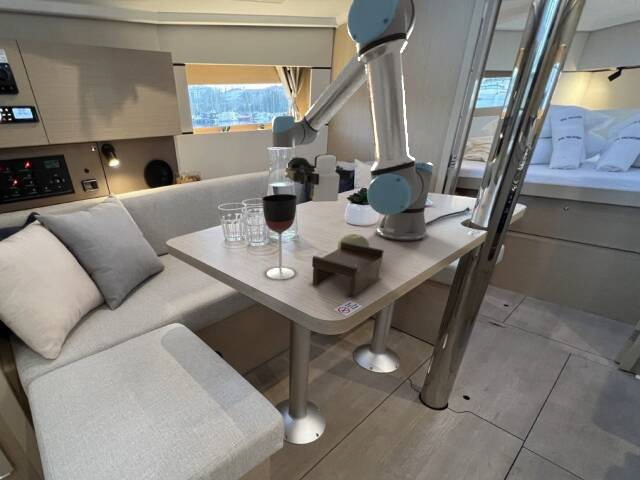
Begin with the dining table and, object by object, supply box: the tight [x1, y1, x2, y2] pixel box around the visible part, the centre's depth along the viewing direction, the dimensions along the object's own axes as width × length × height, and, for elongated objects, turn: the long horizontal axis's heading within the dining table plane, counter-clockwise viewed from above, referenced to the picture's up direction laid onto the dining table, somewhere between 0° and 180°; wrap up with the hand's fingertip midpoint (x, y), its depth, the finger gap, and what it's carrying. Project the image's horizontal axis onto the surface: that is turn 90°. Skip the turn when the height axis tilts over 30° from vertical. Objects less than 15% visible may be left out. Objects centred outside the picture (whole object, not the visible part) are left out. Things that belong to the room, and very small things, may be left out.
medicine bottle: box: [309, 153, 340, 203], centre depth 90 cm, size 7×7×12 cm
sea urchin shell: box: [337, 233, 370, 249], centre depth 96 cm, size 9×8×8 cm
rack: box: [311, 242, 385, 299], centre depth 78 cm, size 14×11×8 cm
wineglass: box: [261, 193, 298, 280], centre depth 81 cm, size 8×9×20 cm
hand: (333, 177), depth 86 cm, fingers closed on medicine bottle, 9 cm apart
